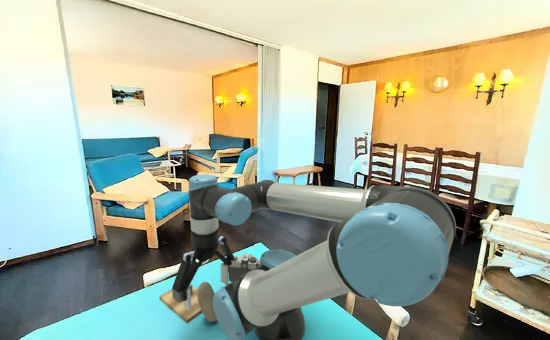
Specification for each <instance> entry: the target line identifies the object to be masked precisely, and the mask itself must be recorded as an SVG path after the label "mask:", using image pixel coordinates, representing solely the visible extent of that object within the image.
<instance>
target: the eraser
mask: <svg viewBox="0 0 550 340" xmlns="http://www.w3.org/2000/svg"><path fill="white" fill-rule="evenodd" d="M184 285H185V284H184ZM192 286H193V285H192V284H191V283H190V285H189V287H188V288H190V291H191V295H192V294H193V291H192ZM171 289H172V288H171ZM172 294H173V298H174V299H175V300H177V301H178V302H179V303H180V302H182V301H183V300H181V298H180V293H177V292H176V291H175V290H173V289H172Z"/></svg>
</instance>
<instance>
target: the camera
mask: <svg viewBox="0 0 550 340" xmlns="http://www.w3.org/2000/svg"><path fill="white" fill-rule="evenodd" d="M234 257H235V258H234V260H231V262H232V265H231V266H230V265H229V268H230V271H229V273H228V281H230V282H233V281H234V280H236V279H238V278H239V277H241V276H243V275H244V274H246V273H247V272H249V271H251V270H252V269H254V268H256V267H258V266H259V265H260V258H259V259H258V258H257V257H256V256H255V255H252V254H251V253H248V252H247V253H243V254H240V255H239V256H237V255H234Z"/></svg>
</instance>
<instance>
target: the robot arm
mask: <svg viewBox="0 0 550 340" xmlns="http://www.w3.org/2000/svg"><path fill="white" fill-rule="evenodd" d="M218 185H219V183H218V178H217V176H216V175H213V174H207V173H206V174H197V175H193V176H191V177H190V178H189V180H188V190H187V191H188V199H189V200H188V203H189V215H190V230H191V232H190V235H191V236H190V240H191V245H192V250H191V251H190V252H186V251H183V252H182V254H181V262H180V265H179V267H178V270H177V273H176V276H175V278H174V281H173V284H172V287H171V289H173V290H175V291H176V292H177V293H180V298H181V300H183V307H185V308H186V309H187V310H188V311H190V310H192V309H191V291H190V288H188V287H189V285H190V284H191V283H192V282H193V280H194V277H195V275H196V274H197V272H198V270H199V268H200V267H202V266H203V264H204V263H206V262H207V261H208V260H211V259H213V257H214V256H215V257H216V258H217V259H218V260H220V261H221V263H220V283H223V284H224V286H221V288H220V289H218V290H217V291H215V292H214V293H215V294H214V297H213V308H214V312H215V315H216V318H217V320H216V321H217V323H218V324H219V327H220V328H221V330H222V332H223V333H224V334H225V336H226V337H227V338H228V339H229V340H243V339H246V337H247V335H249V333H251V332H253V331H254V332H255V334H256V336H257V337H258V338H259V340H301V339H302V337H303V335H304V333H305V328H306V327H305V325H306V324H305V323H306V322H305V321H306V320H305V315H304V313H303V311H302V307H305V306H309V305H312V304H315V303H319V302H322V301H326V300H329V299H332V298H335V297H338V296H343V295H346V294H350V293H351V294H352V295H354V296H355V297H357V298H359V299H363V300H370V299H374V300H376V302H377V303H378V304H379V305H383V306H387V307H388V306H389V307H406V306H410V305H414V304H417V303H419V302H421V301H423V300H424V299H425V298H427V297H428V296H429V295H431V293H433V291H434V290H435V289H436V287H437V285H439V284H440V282H441V281H442V279H443V278H444V276H445V273H446V271H447V269H448V264H449V255H450V252H451V248H452V245H453V243H454V241H455V238H456V233H457V232H456V231H457V223H456V218H455V216H454V213H453V211H452V209H451V207H450V206H449V205H448V204H447V202H445V200H444V199H442V198H441V197H440V196H439V195H437V194H436V193H434V192H432V191H430V190H427V189H425V188H422V187H416V186H406V185H405V186H402V185H401V186H400V185H394V186H393V185H379V184H378V185H377V184H376V185H374V184H373V185H371V186H370V187H369V188H368V189H365V188H364V189H362V188H361V189H360V188H352V187H351V188H348V187H335V186H323V185H312V184H311V185H310V184H299V183H298V184H297V183H296V184H295V183H286V182H285V183H283V182H279V181H277V180H276V179H262V180H261V181H257V182H254V183H253V182H252V183H249V184H246V185H245V184H244V185H241V186H237V187H233V188H229V189H228V188H227V189H226V188H223V187H220V186H218ZM263 209H266V210H270V211H277V212H283V213H288V214H292V215H297V216H299V215H300V216H305V217H310V218H313V219H314V218H315V219H320V220H325V221H330V222H331V221H332V222H337V224H335V225H333V226H332V227H331V228H330V229H329V231H328V233H327V239H326V240H325V241H323V242H321V243H319V244H317V245H315V246H313V247H311V248H309V249H307V250H306V251H305V250H304V251H303V252H301V253H299V254H297V255H296V254H294V253H293V252H290V251H288V250H284V249H269V250H266V251H264V252H263V253H262V254H261V255H260V258H259V259H260V265H259V266H258V267H256V268H254V269H252V270H251V271H249V272H247V273H246V274H244V275H243V276H241V277H239V278H238V279H236V280H234V281H230V283H229V271H230V268H229V265H230V266H231V265H232V262H231V260H234V258H235V257H234V256H235V255H234V253H233V252H232V250H231V248H230V246H229V245H228V241H227V238H226V237H225V236H222V235H220V233H219V232H220V231H219V225H220V224H219V221H221V222H222V223H225V224H228V225H232V226H240V225H243V224H244V223H245V221H246V220H248V219H249V217H250V216H251V214H252V213H254V212H256V211H259V210H263ZM219 246H220V249H221V250H222V252H223V253H224V255H225V256H224V255H223V254H222V253H221V252H220V251H219V250H217V249H218V248H219ZM184 284H185V285H184Z"/></svg>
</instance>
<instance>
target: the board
mask: <svg viewBox="0 0 550 340" xmlns="http://www.w3.org/2000/svg"><path fill="white" fill-rule="evenodd" d="M197 290H198V288H196V287H195V286H194V285H192V291H193V294H192V295H191V309H192V310H190V311H188V310H187V309H186V308H185V307H183V301H182V302H180V303H179V302H178V301H177V300H175V299H174V298H173V294H172V288H171V289H169V290H168V291H166V292H164V293H162V294H161V295H159V300H160V301H161V302H162V304H164V305H166V306H167V308H169V309H170V310H171V311H173V313H175V314H176V315H177V316H179V318H180V319H182V320H183V321H184V322H185V323H186V324H188V323H190V322H191V321H192V320H193V319H196V317H198V316H199V315H200V314H203V312H202V310H201V308H200V306H199V302H198V298H197Z"/></svg>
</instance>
